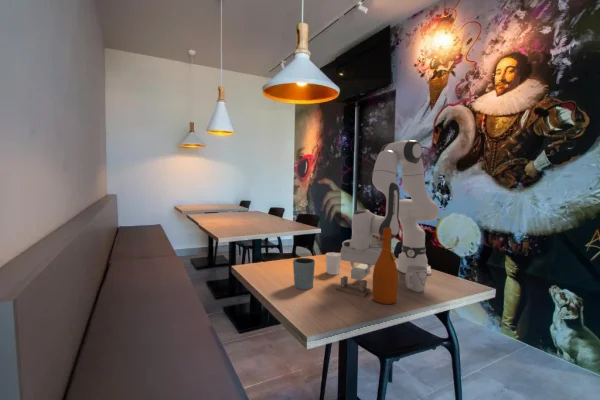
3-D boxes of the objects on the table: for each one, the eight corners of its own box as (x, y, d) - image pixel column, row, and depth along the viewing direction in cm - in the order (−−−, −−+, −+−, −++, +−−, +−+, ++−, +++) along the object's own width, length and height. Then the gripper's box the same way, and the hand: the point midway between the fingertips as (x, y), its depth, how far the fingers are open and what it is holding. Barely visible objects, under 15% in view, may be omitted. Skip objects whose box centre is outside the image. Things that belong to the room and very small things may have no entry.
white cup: (339, 275, 154) (340, 256, 154) (324, 274, 156) (325, 255, 155) (341, 271, 162) (341, 252, 161) (326, 270, 164) (326, 251, 163)
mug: (413, 295, 129) (414, 272, 129) (397, 289, 137) (398, 267, 136) (430, 290, 136) (431, 268, 135) (414, 284, 143) (415, 264, 142)
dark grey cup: (304, 291, 131) (304, 264, 130) (287, 286, 138) (288, 260, 137) (319, 286, 139) (319, 260, 138) (302, 280, 145) (303, 256, 145)
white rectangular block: (360, 271, 152) (360, 263, 151) (370, 273, 149) (370, 265, 149) (351, 278, 142) (351, 270, 141) (361, 280, 139) (361, 271, 138)
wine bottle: (382, 306, 117) (385, 230, 115) (367, 297, 126) (369, 226, 124) (402, 303, 121) (405, 228, 119) (386, 294, 130) (388, 225, 128)
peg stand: (343, 285, 140) (343, 274, 140) (370, 291, 133) (371, 280, 133) (336, 290, 134) (336, 279, 133) (364, 296, 127) (364, 285, 126)
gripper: (384, 244, 141) (384, 273, 142) (344, 240, 152) (344, 266, 153) (380, 247, 136) (380, 277, 137) (339, 242, 147) (339, 270, 148)
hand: (360, 271), depth 145 cm, fingers closed on white rectangular block, 5 cm apart
